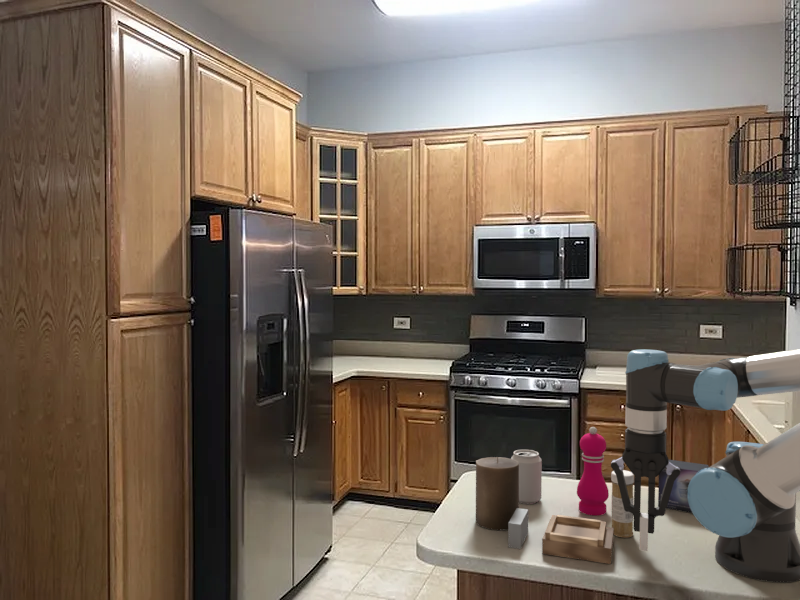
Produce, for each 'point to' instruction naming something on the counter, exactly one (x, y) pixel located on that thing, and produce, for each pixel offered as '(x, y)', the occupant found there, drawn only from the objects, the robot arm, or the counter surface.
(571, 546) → the socket block
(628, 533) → the sprinkles bottle
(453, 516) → the counter surface
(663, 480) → the small box
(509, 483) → the pillar candle
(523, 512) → the backstop wall
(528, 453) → the can
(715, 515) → the robot arm
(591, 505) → the pepper mill
